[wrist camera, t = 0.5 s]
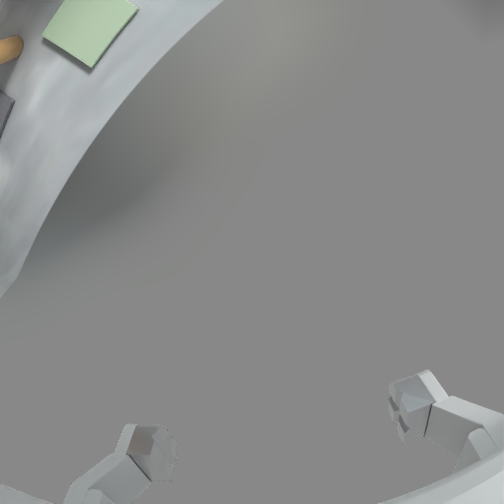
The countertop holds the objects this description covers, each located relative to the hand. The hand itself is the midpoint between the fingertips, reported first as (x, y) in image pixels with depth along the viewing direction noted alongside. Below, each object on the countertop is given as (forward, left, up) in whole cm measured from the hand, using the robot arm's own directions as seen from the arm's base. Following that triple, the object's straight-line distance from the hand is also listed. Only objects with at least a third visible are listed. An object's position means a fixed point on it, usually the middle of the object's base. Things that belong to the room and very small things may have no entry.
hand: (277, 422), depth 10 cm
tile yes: (-27, -6, -52) cm, 59 cm away
